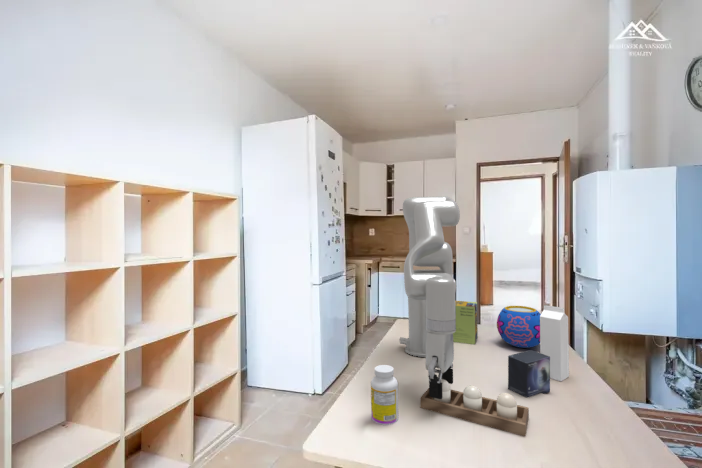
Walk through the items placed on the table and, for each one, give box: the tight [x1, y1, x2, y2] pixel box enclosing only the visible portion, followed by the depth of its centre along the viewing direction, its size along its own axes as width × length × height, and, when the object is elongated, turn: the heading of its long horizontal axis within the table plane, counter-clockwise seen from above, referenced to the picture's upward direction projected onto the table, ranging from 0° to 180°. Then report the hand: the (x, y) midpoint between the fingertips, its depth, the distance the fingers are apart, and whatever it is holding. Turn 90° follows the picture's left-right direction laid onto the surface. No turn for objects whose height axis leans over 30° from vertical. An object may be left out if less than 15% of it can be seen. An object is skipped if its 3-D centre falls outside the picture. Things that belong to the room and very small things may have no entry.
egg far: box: [496, 392, 518, 421], centre depth 80 cm, size 4×4×7 cm
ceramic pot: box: [496, 305, 542, 349], centre depth 135 cm, size 18×18×15 cm
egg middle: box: [462, 384, 483, 412], centre depth 84 cm, size 4×4×7 cm
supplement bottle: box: [370, 364, 399, 426], centre depth 83 cm, size 7×7×13 cm
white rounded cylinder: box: [433, 379, 452, 404], centre depth 88 cm, size 4×4×7 cm
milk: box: [539, 304, 570, 382], centre depth 107 cm, size 6×6×22 cm
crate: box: [419, 387, 530, 438], centre depth 84 cm, size 24×9×3 cm, turn 58°
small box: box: [507, 349, 551, 399], centre depth 96 cm, size 11×6×10 cm, turn 117°
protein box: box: [453, 300, 479, 345], centre depth 145 cm, size 10×15×16 cm
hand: (441, 389), depth 88 cm, fingers open, 9 cm apart
